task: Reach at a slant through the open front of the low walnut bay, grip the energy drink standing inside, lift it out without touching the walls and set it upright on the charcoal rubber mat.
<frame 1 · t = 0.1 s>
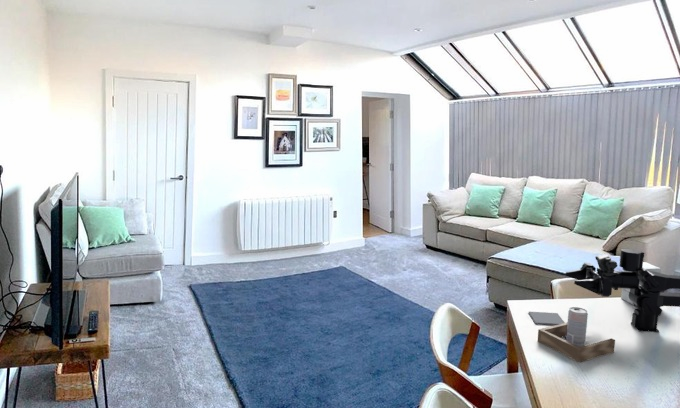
hand: (570, 278, 166), 17 cm above the table, tool horizontal, fingers open, 9 cm apart
bay: (575, 346, 152), on the table
supplement box: (638, 302, 190), on the table
energy drink: (574, 347, 152), on the table
mat: (546, 319, 173), on the table
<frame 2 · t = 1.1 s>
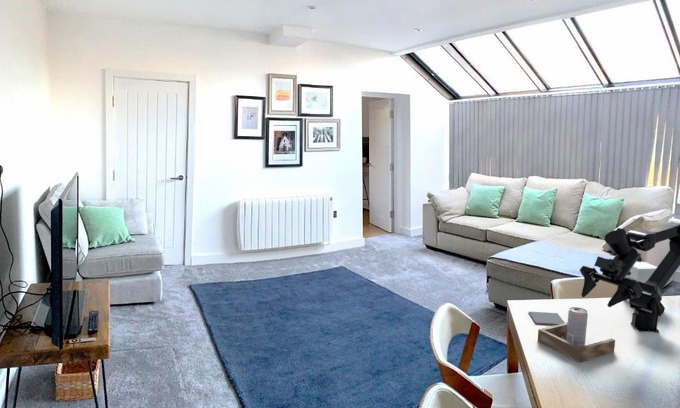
hand: (595, 301, 153), 14 cm above the table, tool tilted 45°, fingers open, 9 cm apart
nothing on the table moved.
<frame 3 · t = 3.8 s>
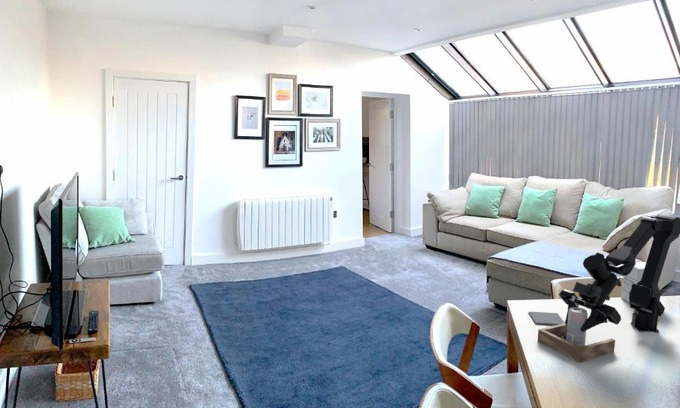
hand: (573, 327, 150), 7 cm above the table, tool tilted 45°, fingers closed on energy drink, 5 cm apart
energy drink: (574, 347, 152), on the table, touching gripper
everything else where it was.
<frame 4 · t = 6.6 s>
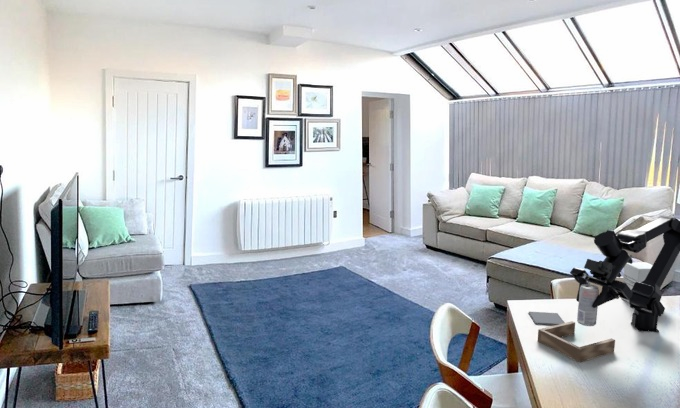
hand: (585, 303, 152), 13 cm above the table, tool tilted 45°, fingers closed on energy drink, 5 cm apart
energy drink: (586, 323, 153), point 6 cm above the table, touching gripper
everything else where it was.
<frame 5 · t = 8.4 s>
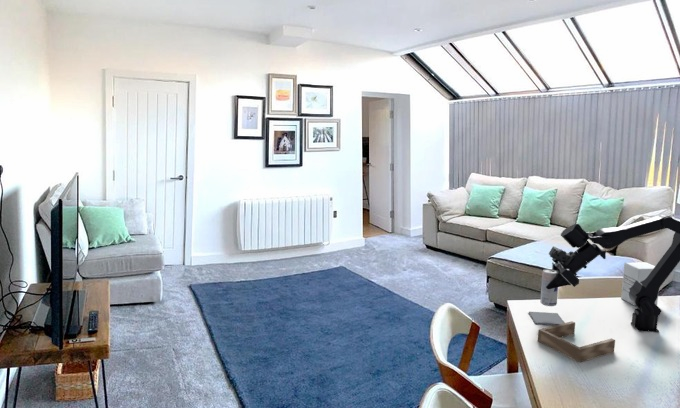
hand: (545, 285, 171), 12 cm above the table, tool tilted 45°, fingers closed on energy drink, 5 cm apart
energy drink: (548, 304, 172), point 6 cm above the table, touching gripper
everything else where it was.
when the fingers open (8 cm above the table, at t = 9.6 s): energy drink drops 1 cm, resting on mat.
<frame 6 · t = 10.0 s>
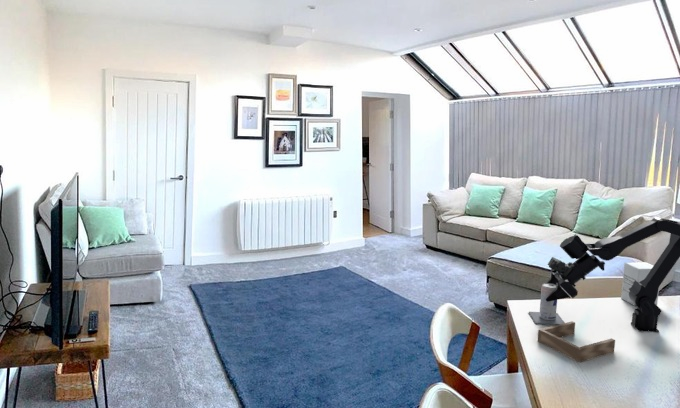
hand: (544, 296, 172), 9 cm above the table, tool tilted 45°, fingers open, 9 cm apart
energy drink: (547, 318, 173), resting on mat
everything else where it was.
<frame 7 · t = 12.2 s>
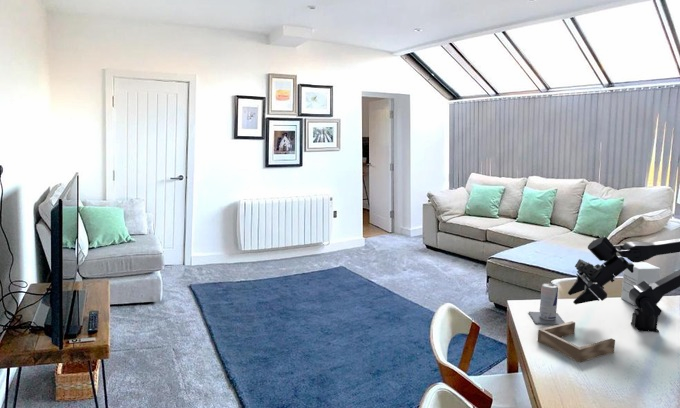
hand: (571, 298, 169), 8 cm above the table, tool tilted 45°, fingers open, 9 cm apart
nothing on the table moved.
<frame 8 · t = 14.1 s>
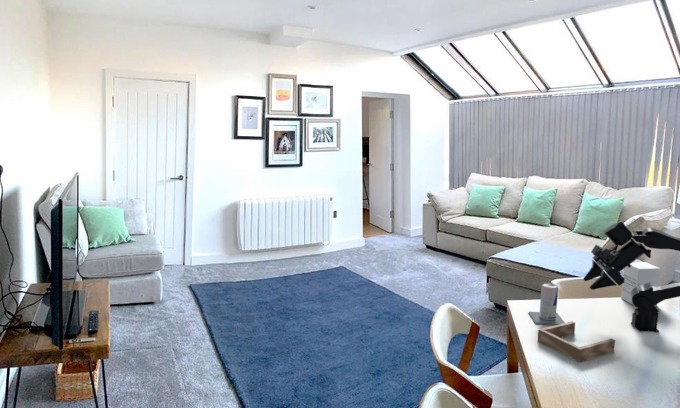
hand: (587, 284, 169), 14 cm above the table, tool tilted 45°, fingers open, 9 cm apart
nothing on the table moved.
at the end: energy drink inside the target area on the mat (0.2 cm from its centre), point 0.4 cm above the mat's base; energy drink tilted 0°; the gripper is holding nothing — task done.
